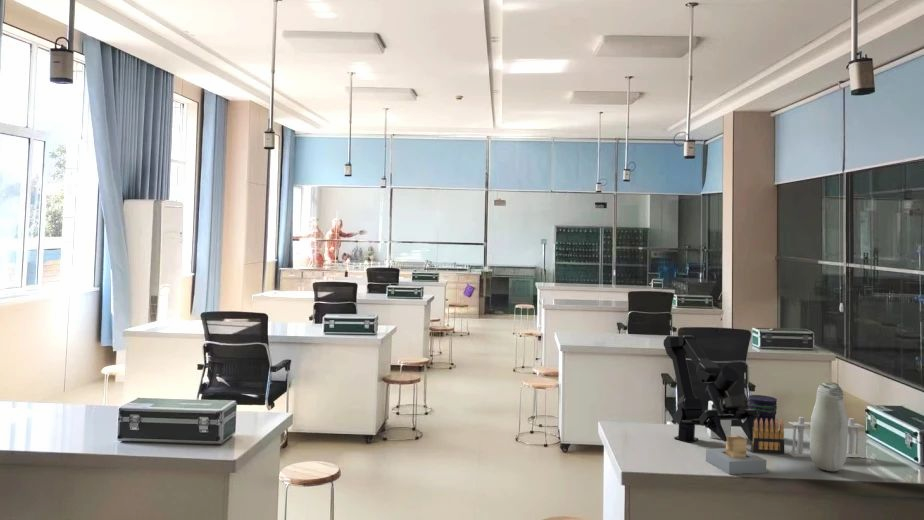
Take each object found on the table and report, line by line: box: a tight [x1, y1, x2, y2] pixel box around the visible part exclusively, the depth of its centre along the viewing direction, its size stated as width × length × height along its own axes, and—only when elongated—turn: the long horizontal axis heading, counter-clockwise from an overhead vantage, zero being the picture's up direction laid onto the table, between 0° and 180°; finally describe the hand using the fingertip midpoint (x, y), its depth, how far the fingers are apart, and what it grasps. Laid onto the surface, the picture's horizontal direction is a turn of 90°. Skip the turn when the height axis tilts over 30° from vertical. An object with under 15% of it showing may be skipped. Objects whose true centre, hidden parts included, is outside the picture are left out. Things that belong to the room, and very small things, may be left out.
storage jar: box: [747, 394, 778, 432], centre depth 249 cm, size 10×10×15 cm
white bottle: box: [809, 382, 849, 472], centre depth 213 cm, size 10×10×28 cm
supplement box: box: [706, 400, 732, 440], centre depth 249 cm, size 7×7×13 cm
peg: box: [725, 435, 748, 458], centre depth 213 cm, size 4×4×9 cm
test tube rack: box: [785, 416, 866, 458], centre depth 229 cm, size 25×4×13 cm, turn 92°
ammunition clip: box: [750, 418, 785, 455], centre depth 230 cm, size 11×2×12 cm, turn 87°
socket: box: [705, 447, 767, 475], centre depth 213 cm, size 13×13×4 cm
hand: (738, 440), depth 212 cm, fingers open, 9 cm apart
